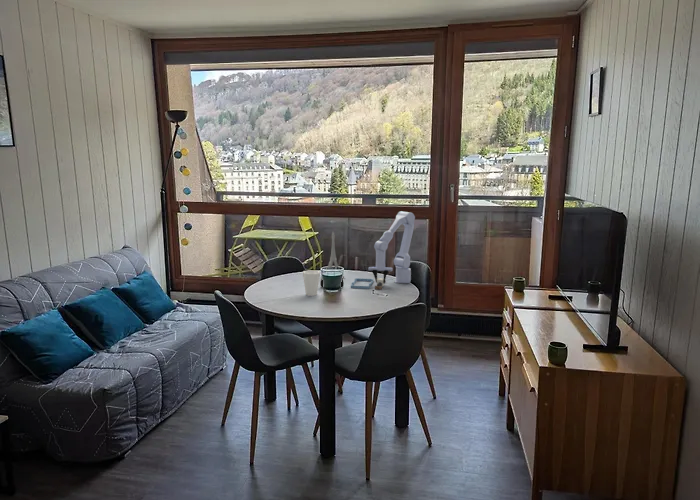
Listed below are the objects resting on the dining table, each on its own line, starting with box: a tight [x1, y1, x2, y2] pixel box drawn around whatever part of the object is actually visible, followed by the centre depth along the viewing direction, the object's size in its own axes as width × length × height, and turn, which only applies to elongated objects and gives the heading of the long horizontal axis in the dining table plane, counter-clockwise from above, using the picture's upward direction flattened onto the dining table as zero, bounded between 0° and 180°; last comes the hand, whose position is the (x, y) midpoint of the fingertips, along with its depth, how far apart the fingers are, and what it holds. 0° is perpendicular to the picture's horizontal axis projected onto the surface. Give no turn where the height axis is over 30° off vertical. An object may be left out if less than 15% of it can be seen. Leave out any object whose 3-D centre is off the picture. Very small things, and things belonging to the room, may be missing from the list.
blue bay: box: [350, 277, 375, 290], centre depth 306 cm, size 11×19×2 cm, turn 170°
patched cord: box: [376, 277, 385, 287], centre depth 304 cm, size 4×12×4 cm, turn 170°
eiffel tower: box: [327, 231, 345, 280], centre depth 324 cm, size 13×13×30 cm
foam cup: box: [302, 269, 321, 297], centre depth 282 cm, size 10×9×13 cm
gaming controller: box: [319, 277, 345, 288], centre depth 299 cm, size 14×6×10 cm, turn 84°
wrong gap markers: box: [374, 285, 383, 291], centre depth 304 cm, size 4×20×2 cm, turn 170°
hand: (380, 282), depth 304 cm, fingers closed on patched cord, 4 cm apart
